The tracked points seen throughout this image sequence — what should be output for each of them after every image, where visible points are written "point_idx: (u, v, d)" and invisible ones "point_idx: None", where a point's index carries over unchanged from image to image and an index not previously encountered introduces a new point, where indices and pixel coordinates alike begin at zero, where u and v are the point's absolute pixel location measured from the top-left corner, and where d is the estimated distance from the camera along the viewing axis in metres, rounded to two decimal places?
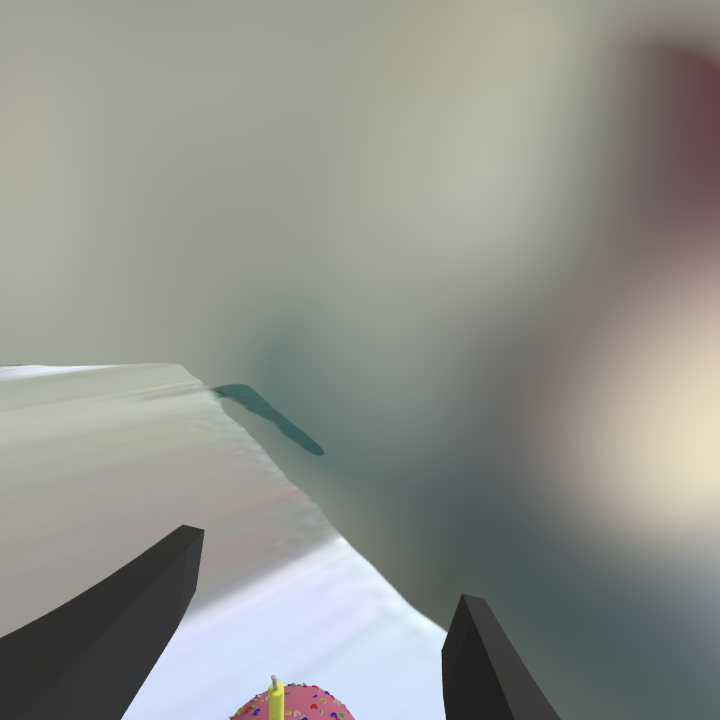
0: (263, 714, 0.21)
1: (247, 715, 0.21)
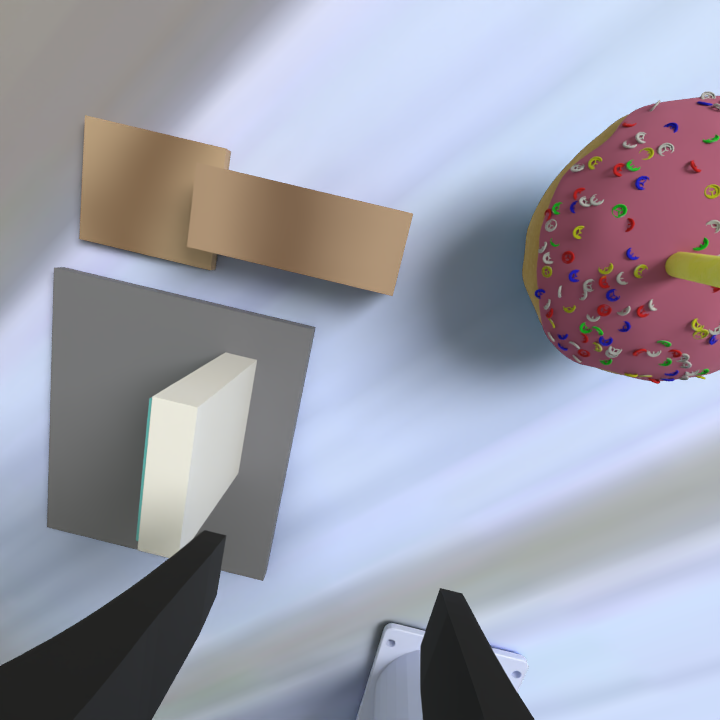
0: (656, 190, 0.11)
1: (617, 183, 0.11)
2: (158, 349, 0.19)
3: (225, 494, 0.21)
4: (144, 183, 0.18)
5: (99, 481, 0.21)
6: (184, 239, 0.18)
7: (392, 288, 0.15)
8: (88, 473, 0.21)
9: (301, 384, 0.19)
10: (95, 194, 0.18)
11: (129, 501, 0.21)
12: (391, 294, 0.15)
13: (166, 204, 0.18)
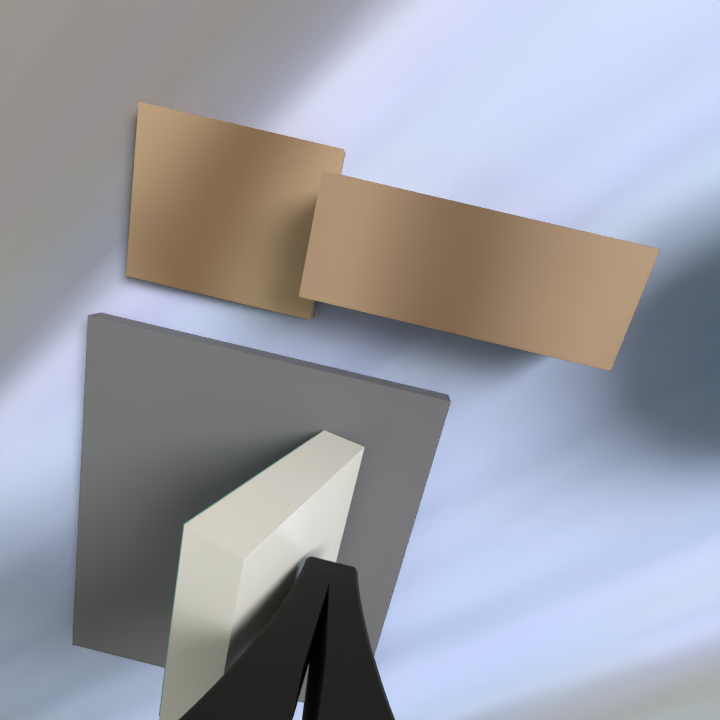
0: None
1: None
2: (231, 425, 0.14)
3: None
4: (221, 199, 0.12)
5: (143, 591, 0.16)
6: (274, 276, 0.13)
7: (611, 359, 0.10)
8: (128, 581, 0.16)
9: (427, 473, 0.14)
10: (150, 213, 0.13)
11: None
12: (609, 368, 0.10)
13: (251, 228, 0.12)
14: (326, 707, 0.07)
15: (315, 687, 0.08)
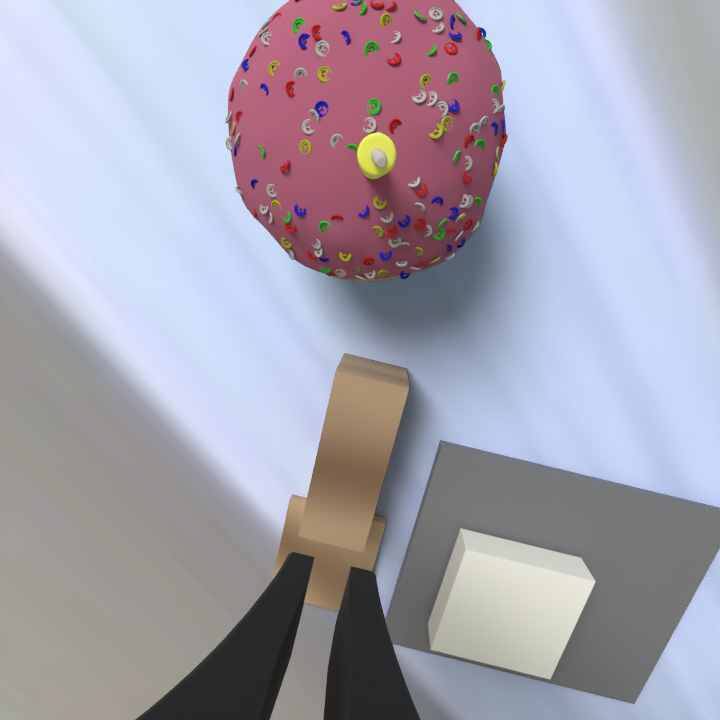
0: (305, 197, 0.11)
1: (301, 228, 0.12)
2: None
3: (615, 541, 0.20)
4: (316, 562, 0.22)
5: (587, 649, 0.22)
6: None
7: (402, 388, 0.16)
8: (577, 657, 0.22)
9: (497, 459, 0.19)
10: (325, 598, 0.22)
11: (613, 628, 0.21)
12: (407, 389, 0.16)
13: (332, 549, 0.21)
14: (355, 715, 0.07)
15: (339, 693, 0.08)
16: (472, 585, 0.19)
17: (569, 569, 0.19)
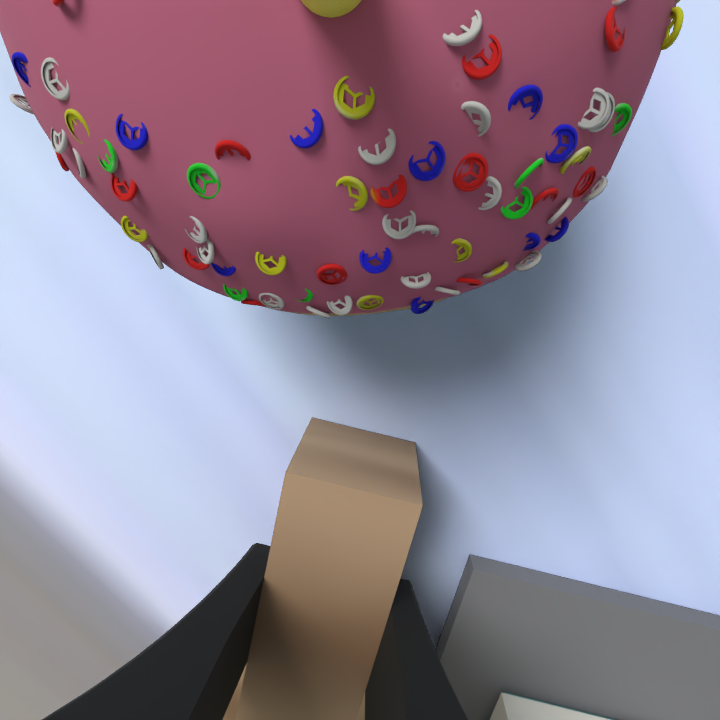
0: (139, 90, 0.04)
1: (150, 187, 0.04)
2: None
3: None
4: None
5: None
6: None
7: (409, 504, 0.09)
8: None
9: (563, 591, 0.12)
10: None
11: None
12: (420, 508, 0.09)
13: None
14: None
15: (386, 705, 0.08)
16: None
17: None
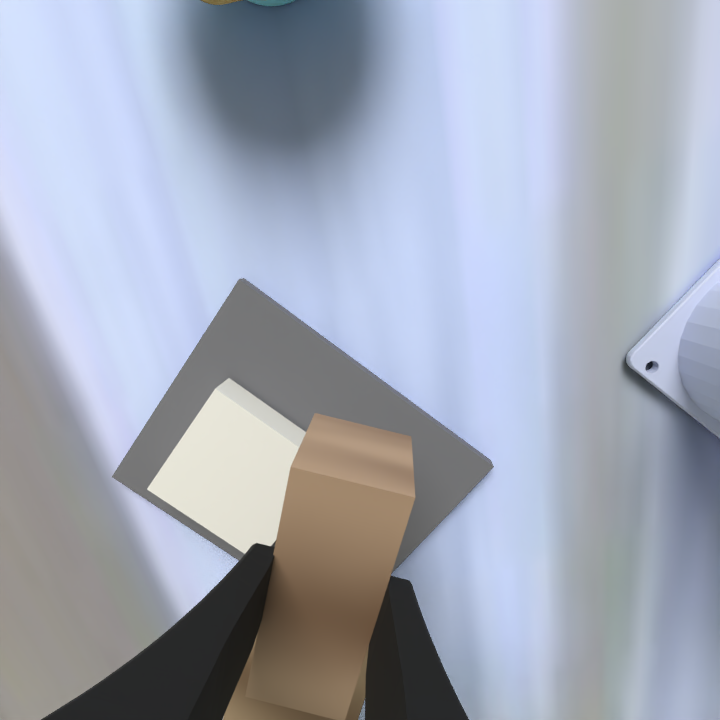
0: None
1: None
2: None
3: None
4: None
5: None
6: None
7: (403, 496, 0.10)
8: None
9: (290, 317, 0.18)
10: None
11: None
12: (412, 499, 0.10)
13: None
14: None
15: (386, 705, 0.08)
16: (210, 431, 0.18)
17: None
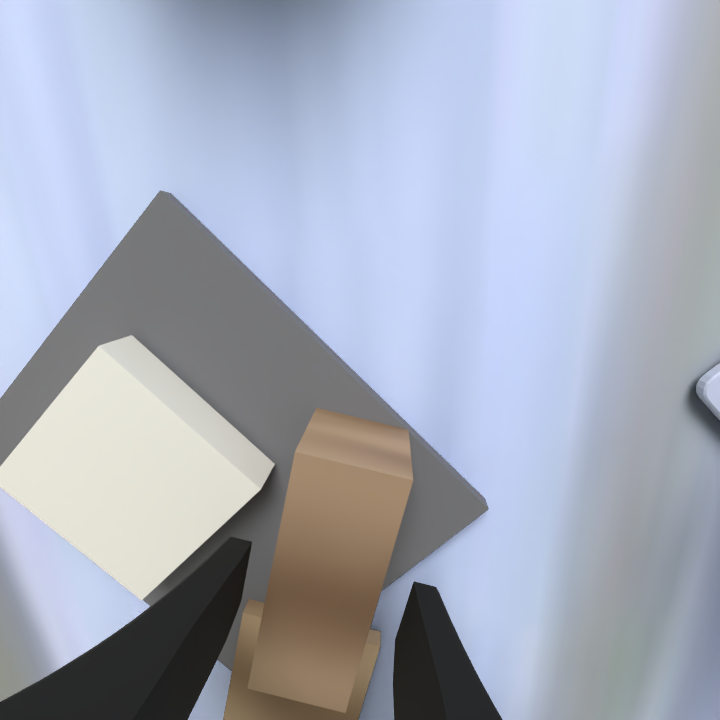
0: None
1: None
2: None
3: None
4: None
5: None
6: None
7: (401, 479, 0.10)
8: None
9: (229, 259, 0.12)
10: None
11: None
12: (410, 482, 0.10)
13: None
14: None
15: (420, 714, 0.08)
16: (87, 408, 0.12)
17: (239, 459, 0.12)
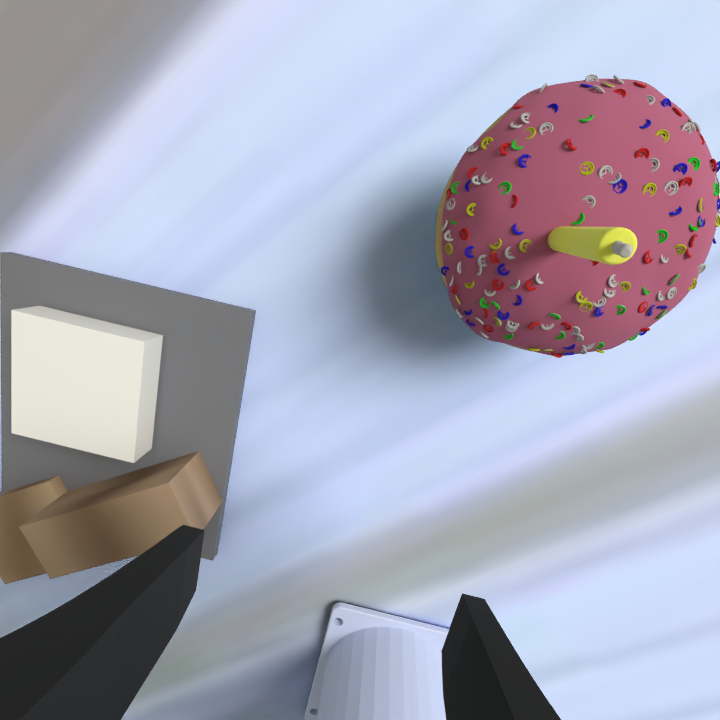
0: (537, 167, 0.11)
1: (504, 162, 0.12)
2: None
3: None
4: (18, 529, 0.22)
5: (51, 463, 0.22)
6: None
7: None
8: (40, 455, 0.22)
9: (242, 366, 0.20)
10: None
11: (80, 482, 0.22)
12: None
13: None
14: None
15: None
16: (103, 350, 0.18)
17: (140, 439, 0.20)
